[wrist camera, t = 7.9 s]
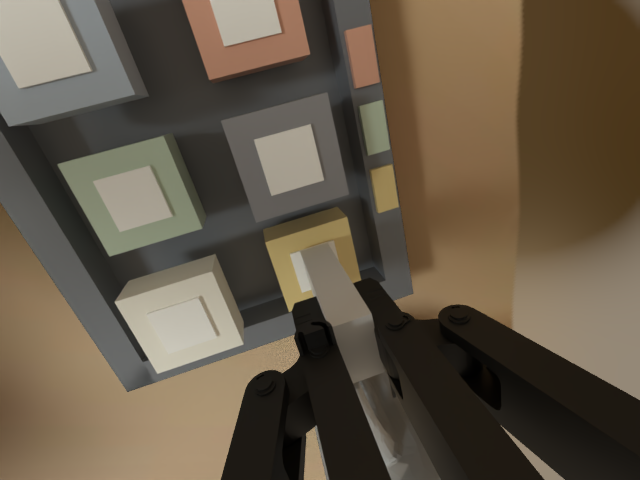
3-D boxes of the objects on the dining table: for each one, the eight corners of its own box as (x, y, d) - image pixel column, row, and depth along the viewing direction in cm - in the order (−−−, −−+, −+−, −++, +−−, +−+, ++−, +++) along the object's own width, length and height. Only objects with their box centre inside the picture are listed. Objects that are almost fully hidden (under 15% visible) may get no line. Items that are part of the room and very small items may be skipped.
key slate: (40, 124, 13) (5, 126, 11) (-32, -5, 12) (-87, -27, 10) (149, 96, 14) (133, 94, 12) (95, -32, 12) (67, -59, 10)
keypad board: (140, 360, 22) (125, 395, 19) (-102, -31, 13) (-188, -66, 10) (396, 275, 23) (415, 296, 21) (329, -118, 15) (347, -166, 12)
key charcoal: (254, 210, 17) (256, 223, 15) (223, 119, 15) (220, 121, 13) (337, 185, 17) (350, 195, 15) (317, 94, 15) (328, 91, 13)
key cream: (166, 347, 18) (156, 376, 16) (128, 280, 16) (113, 303, 15) (243, 321, 19) (243, 346, 17) (215, 253, 17) (211, 272, 15)
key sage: (123, 241, 17) (108, 257, 15) (78, 157, 16) (54, 165, 14) (206, 216, 18) (202, 229, 16) (172, 132, 16) (162, 136, 14)
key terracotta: (213, 83, 16) (209, 79, 14) (174, -31, 14) (163, -54, 12) (302, 60, 16) (311, 53, 14) (276, -53, 14) (281, -79, 12)
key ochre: (284, 293, 20) (289, 313, 18) (262, 229, 19) (265, 243, 17) (352, 271, 21) (363, 288, 19) (337, 206, 19) (348, 217, 17)
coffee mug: (435, 409, 30) (520, 543, 20) (331, 455, 29) (372, 614, 20) (404, 289, 24) (502, 399, 15) (276, 342, 23) (297, 491, 14)
